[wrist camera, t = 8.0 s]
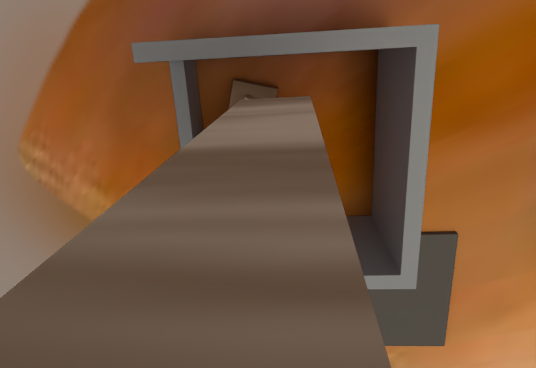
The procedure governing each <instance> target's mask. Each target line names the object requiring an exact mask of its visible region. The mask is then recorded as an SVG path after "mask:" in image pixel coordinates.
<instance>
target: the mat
mask: <svg viewBox="0 0 536 368" xmlns="http://www.w3.org/2000/svg"><path fill="white" fill-rule="evenodd" d="M457 240H458V234H457V232H421V238H420V250H419V261H418V273H417V284H416V289H368V292H369V295H370V298H371V302H372V305H373V308H374V312H375V315H376V319H377V322H378V325H379V329H380V332H381V335H382V339H383V342H384V345H385V346H444V345H445V337H446V329H447V321H448V312H449V304H450V296H451V288H452V280H453V272H454V264H455V256H456V248H457Z"/></svg>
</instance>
